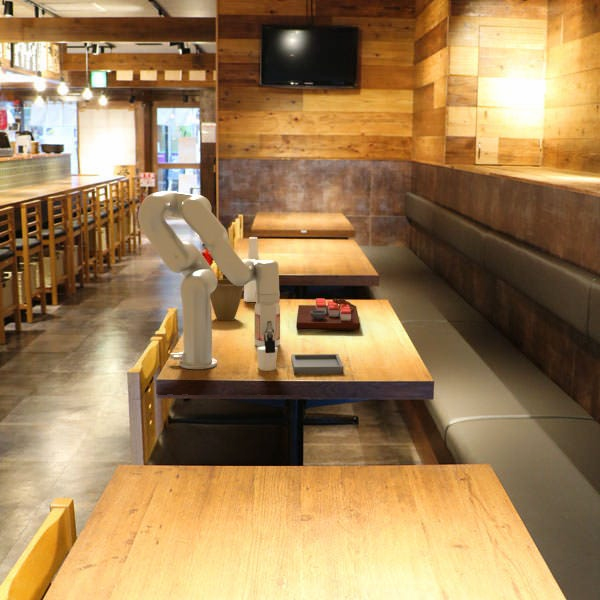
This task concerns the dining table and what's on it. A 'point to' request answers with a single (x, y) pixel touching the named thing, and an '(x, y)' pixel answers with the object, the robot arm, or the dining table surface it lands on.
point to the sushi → (328, 316)
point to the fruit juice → (258, 336)
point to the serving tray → (316, 364)
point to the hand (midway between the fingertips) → (269, 349)
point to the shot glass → (266, 359)
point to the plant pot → (226, 299)
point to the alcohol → (251, 286)
